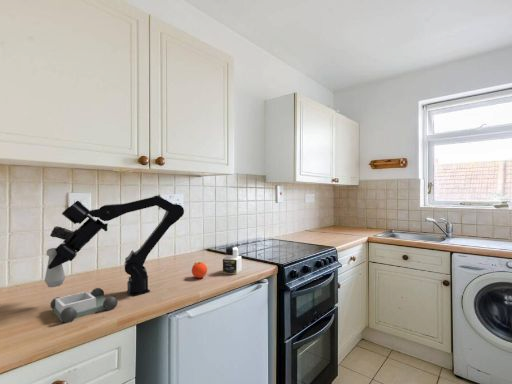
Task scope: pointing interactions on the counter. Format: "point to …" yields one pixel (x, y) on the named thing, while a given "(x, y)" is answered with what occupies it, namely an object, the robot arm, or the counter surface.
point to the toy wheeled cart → (81, 304)
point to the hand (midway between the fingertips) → (49, 267)
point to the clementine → (199, 270)
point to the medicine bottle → (232, 261)
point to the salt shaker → (54, 271)
